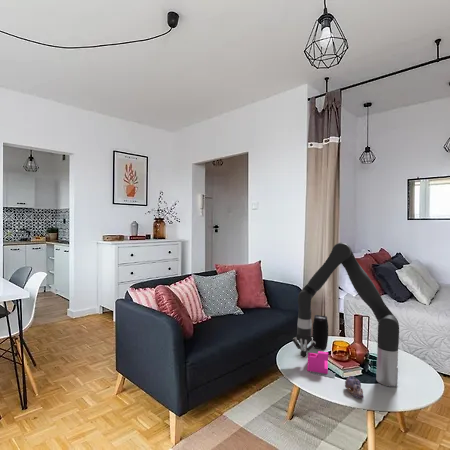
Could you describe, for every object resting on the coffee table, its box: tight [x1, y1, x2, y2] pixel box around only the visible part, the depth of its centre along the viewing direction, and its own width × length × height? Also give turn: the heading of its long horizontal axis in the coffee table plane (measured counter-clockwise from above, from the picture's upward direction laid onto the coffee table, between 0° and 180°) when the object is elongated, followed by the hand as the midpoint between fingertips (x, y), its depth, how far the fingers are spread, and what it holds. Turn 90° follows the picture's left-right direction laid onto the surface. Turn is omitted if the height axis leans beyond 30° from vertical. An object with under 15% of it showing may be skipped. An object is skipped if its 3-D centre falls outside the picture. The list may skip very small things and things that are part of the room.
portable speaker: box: [311, 314, 329, 351], centre depth 199 cm, size 9×9×20 cm
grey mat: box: [309, 370, 336, 379], centre depth 171 cm, size 12×14×1 cm
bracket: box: [307, 350, 329, 374], centre depth 173 cm, size 12×10×10 cm
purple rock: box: [344, 375, 364, 399], centre depth 148 cm, size 12×8×6 cm, turn 174°
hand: (303, 356), depth 176 cm, fingers closed
